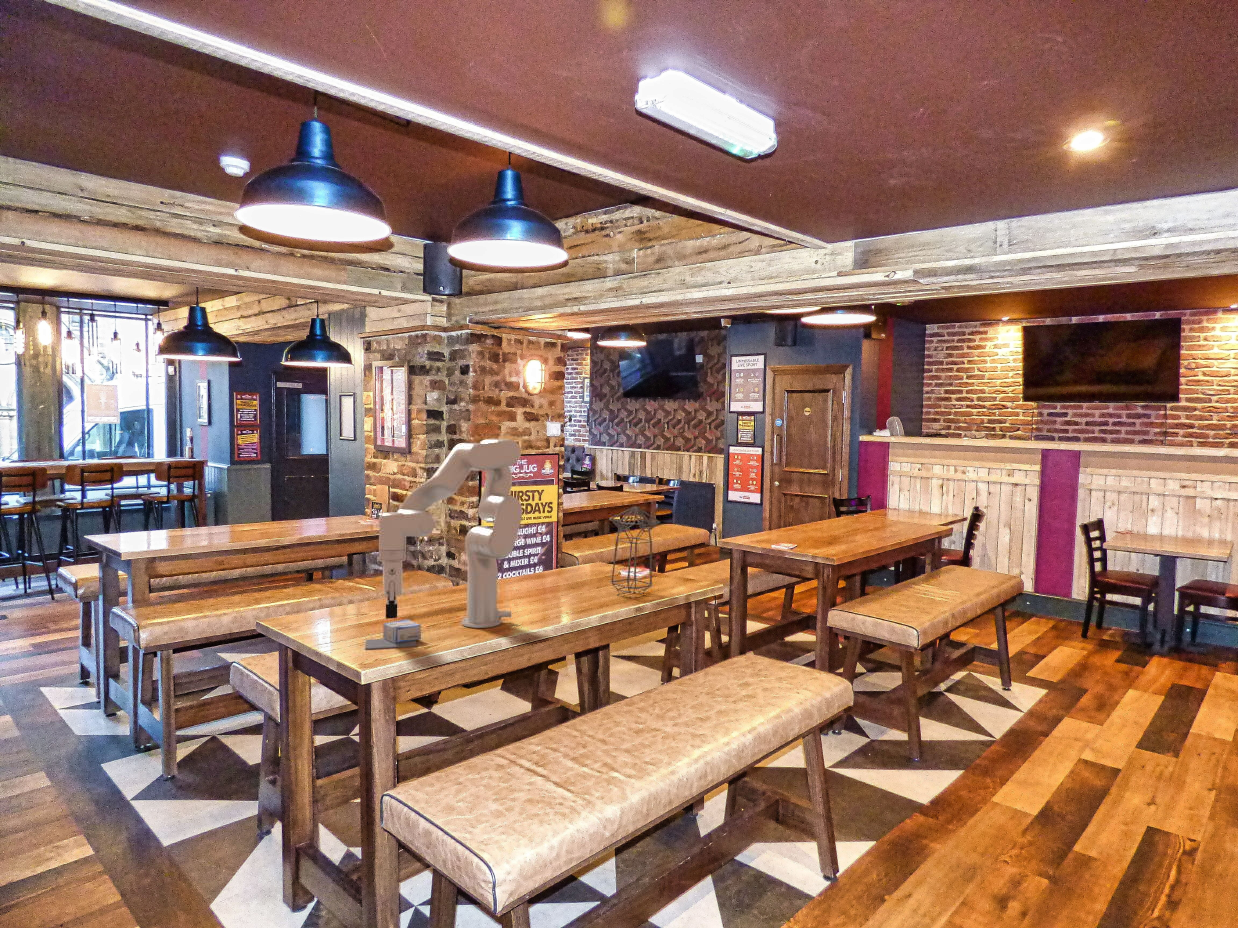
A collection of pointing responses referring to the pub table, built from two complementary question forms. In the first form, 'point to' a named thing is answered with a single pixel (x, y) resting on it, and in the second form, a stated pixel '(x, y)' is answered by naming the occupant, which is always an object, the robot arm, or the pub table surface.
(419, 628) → the medicine box
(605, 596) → the pub table surface
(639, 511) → the geometric lantern
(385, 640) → the charcoal mat
